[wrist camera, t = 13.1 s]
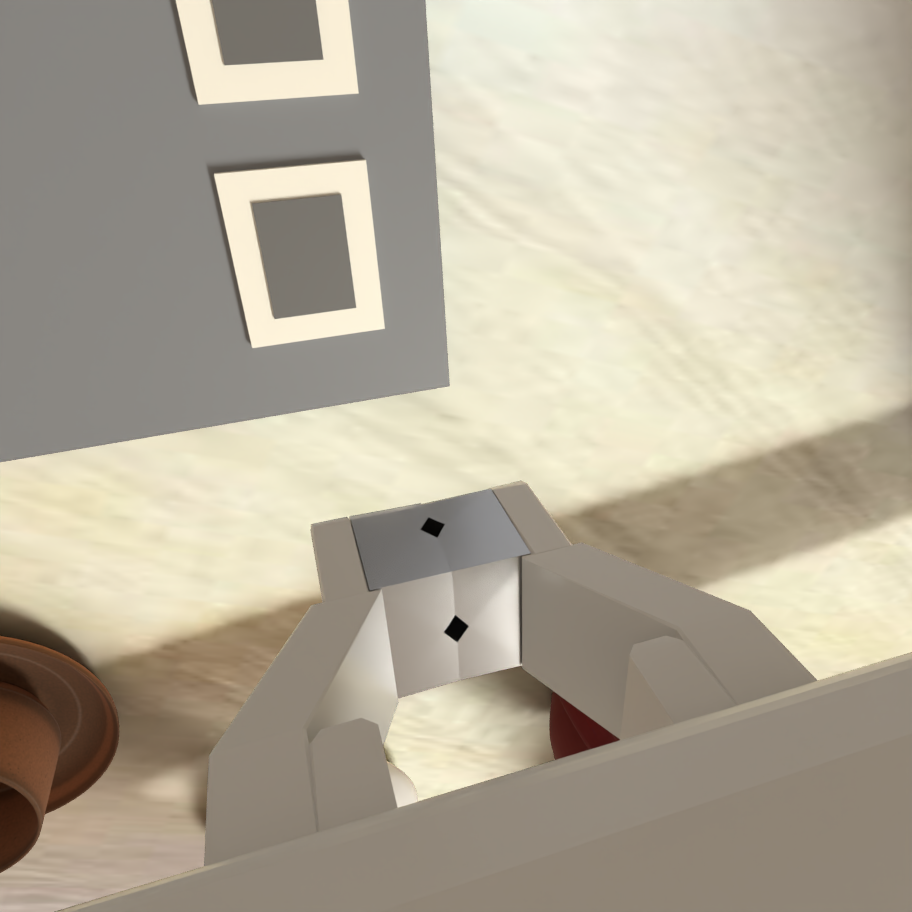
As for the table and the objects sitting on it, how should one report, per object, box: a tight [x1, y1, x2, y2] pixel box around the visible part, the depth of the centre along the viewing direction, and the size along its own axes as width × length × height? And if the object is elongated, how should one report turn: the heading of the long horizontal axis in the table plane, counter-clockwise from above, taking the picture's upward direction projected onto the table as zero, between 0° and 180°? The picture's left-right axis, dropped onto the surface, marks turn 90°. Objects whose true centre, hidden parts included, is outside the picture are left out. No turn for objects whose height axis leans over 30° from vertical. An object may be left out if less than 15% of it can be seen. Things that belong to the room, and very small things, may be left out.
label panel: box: [0, 0, 450, 462], centre depth 18 cm, size 18×24×7 cm
